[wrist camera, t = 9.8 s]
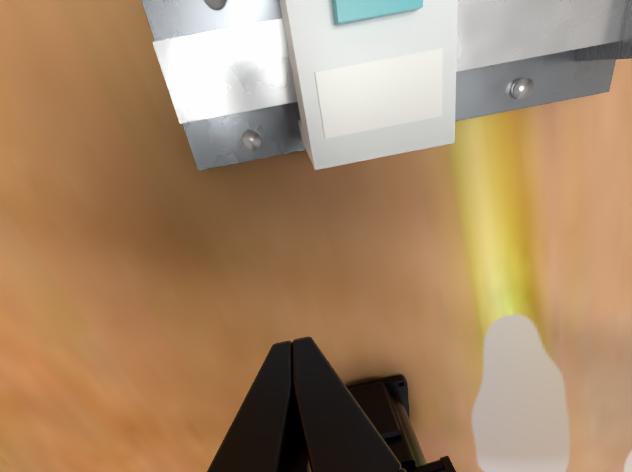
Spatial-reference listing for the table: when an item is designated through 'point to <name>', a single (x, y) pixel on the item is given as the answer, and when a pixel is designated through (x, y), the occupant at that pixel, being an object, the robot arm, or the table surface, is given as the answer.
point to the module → (372, 76)
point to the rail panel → (286, 116)
